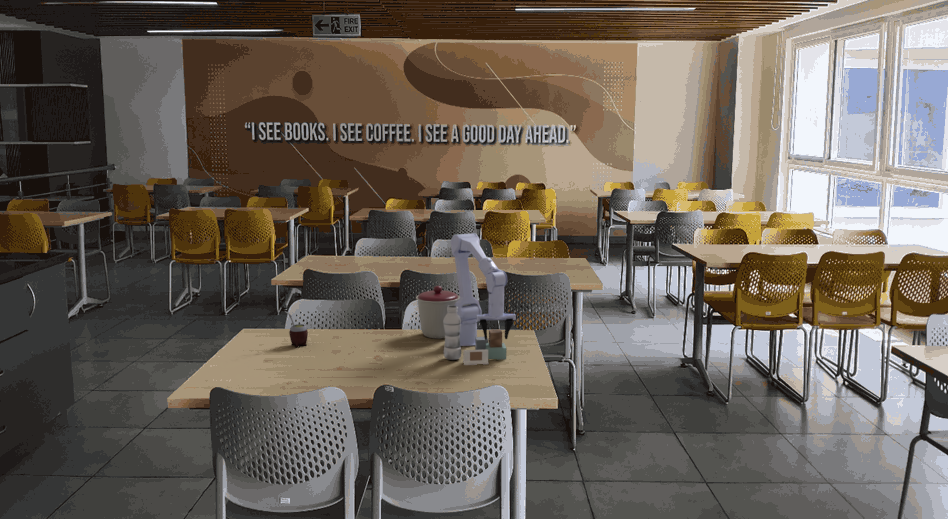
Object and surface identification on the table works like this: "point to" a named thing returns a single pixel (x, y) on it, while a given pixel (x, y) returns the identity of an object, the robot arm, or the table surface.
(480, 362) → the card
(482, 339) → the grey block
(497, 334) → the walnut block
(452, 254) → the robot arm
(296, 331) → the mate gourd
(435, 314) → the canister
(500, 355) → the base block
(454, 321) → the plastic bottle
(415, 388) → the table surface
